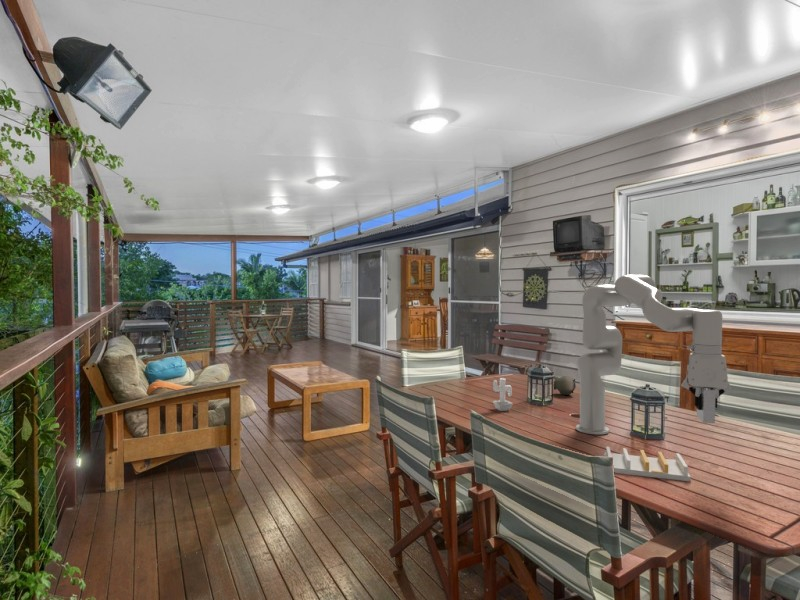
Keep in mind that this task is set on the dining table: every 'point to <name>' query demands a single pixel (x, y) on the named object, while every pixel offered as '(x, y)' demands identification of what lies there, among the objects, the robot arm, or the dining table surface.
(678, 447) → the dining table surface
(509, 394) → the figurine
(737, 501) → the dining table surface
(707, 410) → the panel
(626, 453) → the rack
